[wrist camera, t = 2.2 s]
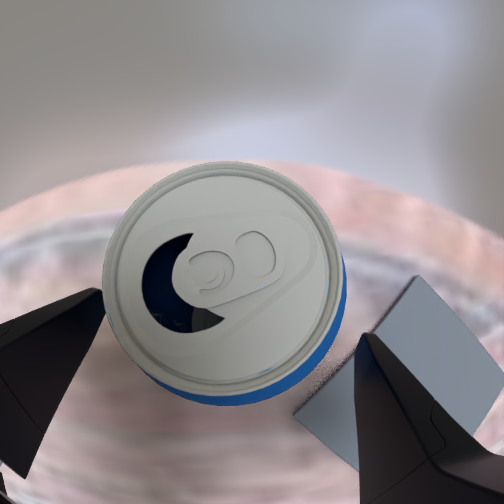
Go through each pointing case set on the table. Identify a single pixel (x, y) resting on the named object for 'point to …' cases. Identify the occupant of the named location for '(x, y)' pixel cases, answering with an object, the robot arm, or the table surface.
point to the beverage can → (225, 283)
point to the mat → (413, 370)
